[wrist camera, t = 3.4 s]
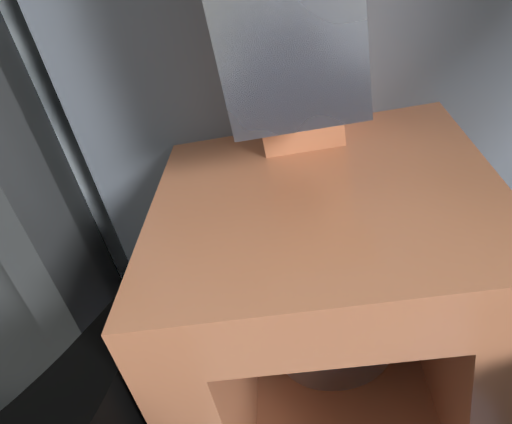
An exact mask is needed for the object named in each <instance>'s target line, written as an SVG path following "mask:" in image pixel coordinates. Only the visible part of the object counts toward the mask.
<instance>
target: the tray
mask: <svg viewBox="0 0 512 424" xmlns="http://www.w3.org/2000/svg"><path fill="white" fill-rule="evenodd" d="M121 282H122V281H121V279H120V276H119V274H118V272H117V270H116V268H115V265H114V263H113V261H112V259H111V256H110V254H109V252H108V250H107V248H106V245H105V243H104V241H103V239H102V236H101V234H100V232H99V230H98V228H97V225H96V223H95V221H94V219H93V216H92V214H91V212H90V210H89V207H88V205H87V203H86V201H85V199H84V196H83V194H82V192H81V190H80V187H79V185H78V183H77V181H76V179H75V176H74V174H73V172H72V170H71V167H70V165H69V163H68V161H67V159H66V156H65V154H64V152H63V150H62V147H61V145H60V143H59V141H58V139H57V136H56V134H55V132H54V130H53V127H52V125H51V123H50V121H49V119H48V116H47V114H46V112H45V110H44V107H43V105H42V103H41V101H40V98H39V96H38V94H37V92H36V90H35V87H34V85H33V83H32V81H31V78H30V76H29V74H28V72H27V70H26V67H25V65H24V63H23V61H22V58H21V56H20V54H19V52H18V50H17V47H16V45H15V43H14V41H13V38H12V36H11V34H10V32H9V30H8V27H7V25H6V23H5V21H4V18H3V16H2V14H1V12H0V411H1V410H2V409H3V408H4V407H5V406H7V405H8V404H9V403H10V402H11V401H13V400H14V399H15V398H16V397H17V396H18V395H19V394H20V393H22V392H23V391H24V390H25V389H26V388H27V387H28V386H29V385H30V384H31V383H32V382H34V381H35V380H36V379H37V378H38V377H39V376H40V375H41V374H42V373H43V372H44V371H45V370H47V369H48V368H49V367H50V366H51V365H52V364H53V363H54V362H55V361H56V360H57V359H58V358H59V357H60V356H61V355H62V354H63V353H64V352H65V351H66V350H67V349H68V348H69V347H70V345H71V344H72V343H73V342H74V341H75V340H76V339H77V338H78V337H79V336H80V335H81V334H82V333H83V331H84V330H85V329H86V328H87V327H88V326H89V325H90V324H91V323H92V322H93V321H94V320H95V319H96V317H97V316H98V315H99V314H100V313H101V312H102V311H103V310H104V309H105V307H106V306H107V305H108V304H109V303H110V302H111V300H112V299H113V298H114V297H115V296H116V295H117V292H118V290H119V287H120V284H121Z"/></svg>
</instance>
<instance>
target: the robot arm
mask: <svg viewBox="0 0 512 424" xmlns="http://www.w3.org/2000/svg"><path fill="white" fill-rule="evenodd" d="M115 297H116V296H115ZM115 297H114V298H113V299H112V300H111V302H110V303H109V304H108V305H107V306H106V307H105V309H104V310H103V311H102V312H101V313H100V314H99V315H98V316H97V317H96V319H95V320H94V321H93V322H92V323H91V324H90V325H89V326H88V327H87V328H86V329H85V330H84V331H83V333H82V334H81V335H80V336H79V337H78V338H77V339H76V340H75V341H74V342H73V343H72V344H71V345H70V347H69V348H68V349H67V350H66V351H65V352H64V353H63V354H62V355H61V356H60V357H59V358H58V359H57V360H56V361H55V362H54V363H53V364H52V365H51V366H50V367H49V368H48V369H47V370H45V371H44V372H43V373H42V374H41V375H40V376H39V377H38V378H37V379H36V380H35V381H34V382H32V383H31V384H30V385H29V386H28V387H27V388H26V389H25V390H24V391H23V392H22V393H20V394H19V395H18V396H17V397H16V398H15V399H14V400H13V401H11V402H10V403H9V404H8V405H7V406H5V407H4V408H3V409H2V410H1V411H0V424H147V422H146V421H145V419H144V417H143V415H142V413H141V411H140V409H139V407H138V405H137V403H136V401H135V400H134V398H133V396H132V394H131V392H130V390H129V388H128V386H127V384H126V382H125V380H124V379H123V377H122V375H121V373H120V371H119V369H118V367H117V365H116V363H115V361H114V359H113V358H112V356H111V354H110V352H109V350H108V348H107V346H106V344H105V342H104V340H103V338H102V336H101V334H102V331H103V329H104V326H105V324H106V321H107V318H108V316H109V313H110V311H111V308H112V305H113V303H114V300H115Z"/></svg>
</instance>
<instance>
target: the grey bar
mask: <svg viewBox="0 0 512 424" xmlns="http://www.w3.org/2000/svg"><path fill="white" fill-rule="evenodd" d="M202 3H203V8H204V12H205V16H206V21H207V25H208V29H209V34H210V38H211V42H212V46H213V51H214V55H215V59H216V64H217V68H218V72H219V77H220V81H221V85H222V90H223V94H224V98H225V103H226V107H227V111H228V116H229V120H230V124H231V129H232V133H233V137H234V142H241V141H247V140H253V139H259V138H265V137H272V136H278V135H284V134H290V133H296V132H302V131H309V130H315V129H321V128H327V127H333V126H339V125H346V124H352V123H358V122H364V121H370V120H373V108H372V91H371V74H370V56H369V39H368V21H367V4H366V0H202ZM387 366H388V364H380V365H370V366H360V367H350V368H340V369H330V370H320V371H311V372H301V373H291V374H287V375H288V376H289V377H290V378H291V379H293V380H294V381H296V382H297V383H299V384H301V385H303V386H306V387H308V388H312V389H316V390H321V391H343V390H349V389H354V388H357V387H360V386H362V385H365V384H367V383H369V382H371V381H372V380H374V379H375V378H377V377H378V376H379V375H380V374H381V373H382V372H383V371H384V370H385V369H386V367H387Z"/></svg>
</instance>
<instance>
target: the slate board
mask: <svg viewBox="0 0 512 424" xmlns="http://www.w3.org/2000/svg"><path fill="white" fill-rule="evenodd" d="M17 2H18V4H19V7H20V9H21V11H22V14H23V16H24V18H25V21H26V23H27V25H28V28H29V30H30V32H31V35H32V37H33V39H34V42H35V44H36V46H37V49H38V51H39V53H40V56H41V58H42V60H43V63H44V65H45V67H46V70H47V72H48V74H49V77H50V79H51V82H52V84H53V86H54V89H55V91H56V93H57V96H58V98H59V100H60V103H61V105H62V107H63V110H64V112H65V114H66V117H67V119H68V121H69V124H70V126H71V128H72V131H73V133H74V135H75V138H76V140H77V142H78V145H79V147H80V149H81V152H82V154H83V156H84V159H85V161H86V164H87V166H88V168H89V171H90V173H91V175H92V178H93V180H94V182H95V185H96V187H97V189H98V192H99V194H100V196H101V199H102V201H103V203H104V206H105V208H106V210H107V213H108V215H109V217H110V220H111V222H112V224H113V227H114V229H115V231H116V234H117V236H118V238H119V241H120V243H121V246H122V248H123V250H124V253H125V255H126V257H127V260H128V262H129V261H130V258H131V256H132V253H133V250H134V248H135V245H136V243H137V240H138V237H139V235H140V232H141V229H142V227H143V224H144V222H145V219H146V216H147V214H148V211H149V209H150V206H151V203H152V201H153V198H154V195H155V193H156V190H157V188H158V185H159V182H160V180H161V177H162V175H163V172H164V169H165V167H166V164H167V161H168V159H169V156H170V154H171V151H172V148H173V146H174V145H179V144H185V143H191V142H197V141H204V140H210V139H216V138H222V137H228V136H233V133H232V129H231V124H230V120H229V116H228V111H227V107H226V103H225V98H224V94H223V90H222V85H221V81H220V77H219V72H218V68H217V64H216V59H215V55H214V51H213V46H212V42H211V38H210V34H209V29H208V25H207V21H206V16H205V12H204V8H203V3H202V0H17ZM366 4H367V21H368V39H369V56H370V74H371V91H372V108H373V113H374V112H380V111H386V110H392V109H398V108H405V107H411V106H417V105H423V104H429V103H435V102H440V103H441V104H442V106H443V107H444V108H445V109H446V111H447V112H448V113H449V114H450V115H451V117H452V118H453V119H454V120H455V122H456V123H457V124H458V125H459V126H460V128H461V129H462V130H463V131H464V133H465V134H466V135H467V136H468V137H469V139H470V140H471V141H472V142H473V144H474V145H475V146H476V147H477V148H478V150H479V151H480V152H481V153H482V155H483V156H484V157H485V158H486V159H487V161H488V162H489V163H490V164H491V166H492V167H493V168H494V169H495V170H496V172H497V173H498V174H499V175H500V177H501V178H502V179H503V180H504V181H505V183H506V184H507V185H508V186H509V188H510V189H511V190H512V0H366Z"/></svg>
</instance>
